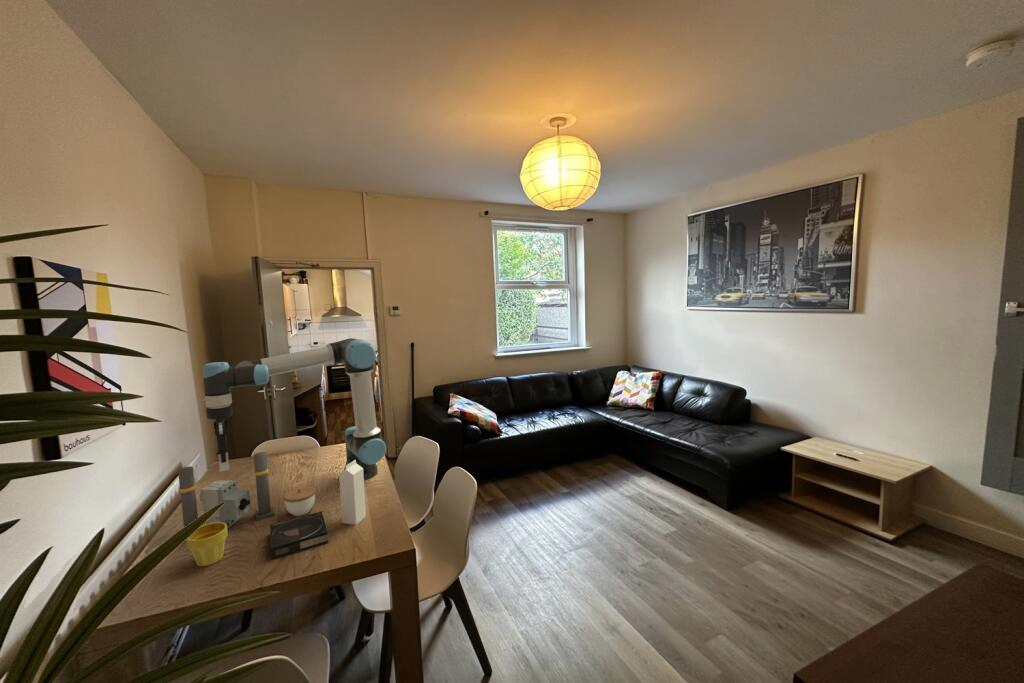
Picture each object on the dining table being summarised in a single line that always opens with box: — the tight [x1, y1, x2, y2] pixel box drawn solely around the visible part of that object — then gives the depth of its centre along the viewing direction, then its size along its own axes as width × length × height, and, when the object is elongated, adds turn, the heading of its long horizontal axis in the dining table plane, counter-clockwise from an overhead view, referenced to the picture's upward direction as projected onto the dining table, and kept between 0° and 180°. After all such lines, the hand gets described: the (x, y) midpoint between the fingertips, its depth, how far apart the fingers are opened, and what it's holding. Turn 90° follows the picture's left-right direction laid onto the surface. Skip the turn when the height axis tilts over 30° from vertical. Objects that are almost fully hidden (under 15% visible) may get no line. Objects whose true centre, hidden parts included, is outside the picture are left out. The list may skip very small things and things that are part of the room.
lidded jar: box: [283, 486, 316, 517], centre depth 155 cm, size 11×11×9 cm
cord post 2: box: [253, 451, 276, 521], centre depth 153 cm, size 6×6×24 cm
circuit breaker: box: [199, 480, 252, 529], centre depth 147 cm, size 8×14×15 cm, turn 89°
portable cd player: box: [269, 511, 329, 560], centre depth 138 cm, size 16×17×4 cm
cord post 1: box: [177, 466, 199, 528], centre depth 140 cm, size 6×6×24 cm
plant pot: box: [185, 522, 229, 567], centre depth 127 cm, size 10×10×10 cm
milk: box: [338, 460, 367, 526], centre depth 148 cm, size 6×6×22 cm
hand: (224, 470), depth 145 cm, fingers closed
